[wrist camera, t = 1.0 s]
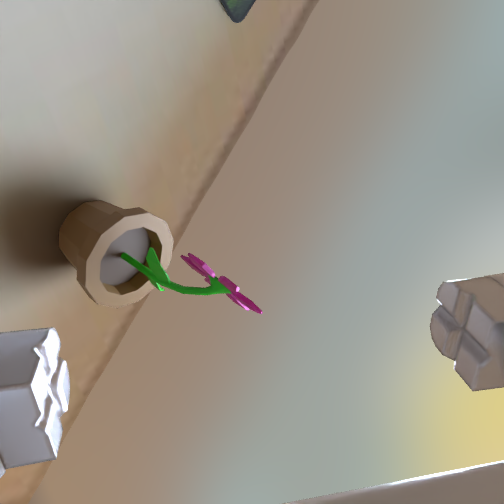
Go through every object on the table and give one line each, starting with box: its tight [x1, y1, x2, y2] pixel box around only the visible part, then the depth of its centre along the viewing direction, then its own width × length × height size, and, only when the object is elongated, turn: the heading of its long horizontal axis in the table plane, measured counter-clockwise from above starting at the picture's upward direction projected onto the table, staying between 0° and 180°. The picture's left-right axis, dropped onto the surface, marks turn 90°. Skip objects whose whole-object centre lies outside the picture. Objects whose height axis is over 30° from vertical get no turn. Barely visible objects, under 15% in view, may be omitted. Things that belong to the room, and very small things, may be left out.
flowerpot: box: [59, 200, 262, 314], centre depth 58 cm, size 14×14×30 cm
